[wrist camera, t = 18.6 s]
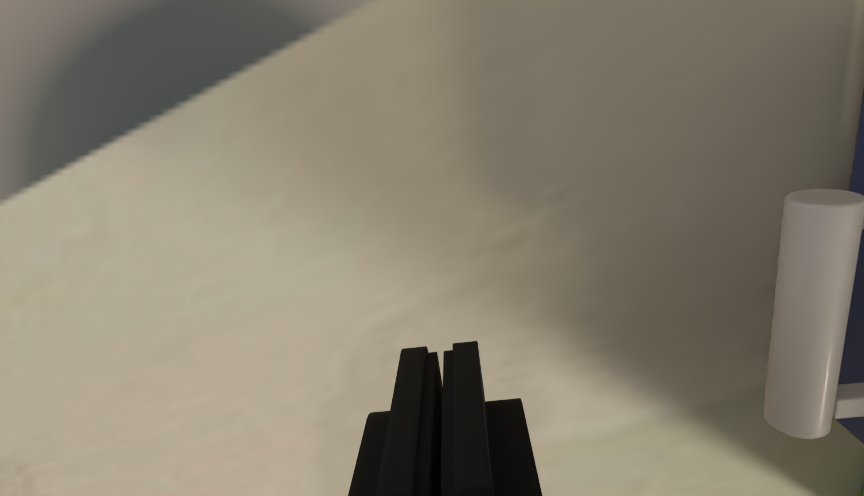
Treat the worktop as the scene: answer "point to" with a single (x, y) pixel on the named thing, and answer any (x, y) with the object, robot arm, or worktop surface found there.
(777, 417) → the drawer
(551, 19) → the worktop surface
